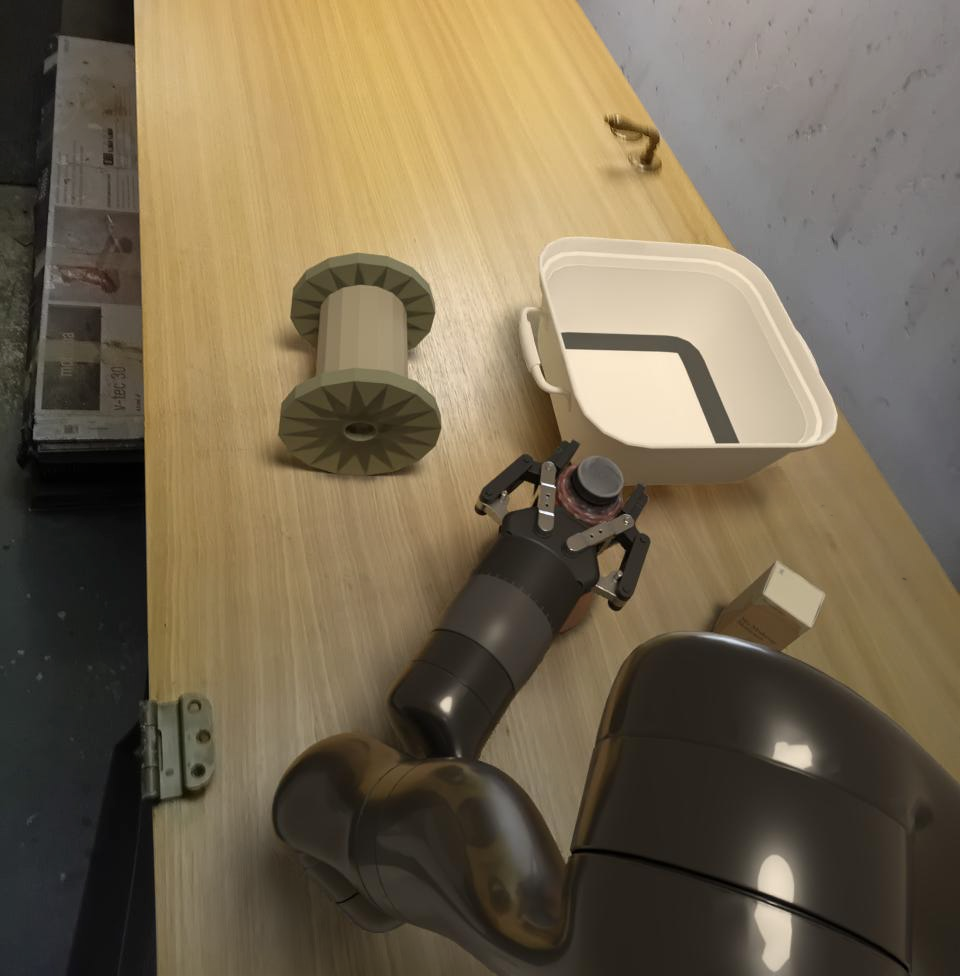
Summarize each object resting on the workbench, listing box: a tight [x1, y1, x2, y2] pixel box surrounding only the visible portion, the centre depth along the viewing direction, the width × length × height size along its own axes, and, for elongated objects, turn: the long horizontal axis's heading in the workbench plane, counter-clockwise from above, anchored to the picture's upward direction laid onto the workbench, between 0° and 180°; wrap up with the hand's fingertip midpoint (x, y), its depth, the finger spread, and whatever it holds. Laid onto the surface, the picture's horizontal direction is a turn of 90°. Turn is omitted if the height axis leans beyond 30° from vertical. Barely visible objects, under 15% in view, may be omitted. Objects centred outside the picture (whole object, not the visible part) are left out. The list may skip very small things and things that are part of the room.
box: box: [711, 560, 826, 652], centre depth 79 cm, size 5×4×11 cm
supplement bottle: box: [555, 456, 624, 529], centre depth 72 cm, size 6×6×11 cm
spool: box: [277, 252, 443, 477], centre depth 85 cm, size 16×15×15 cm
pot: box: [517, 235, 839, 487], centre depth 94 cm, size 34×29×15 cm
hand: (605, 467), depth 71 cm, fingers closed on supplement bottle, 6 cm apart
